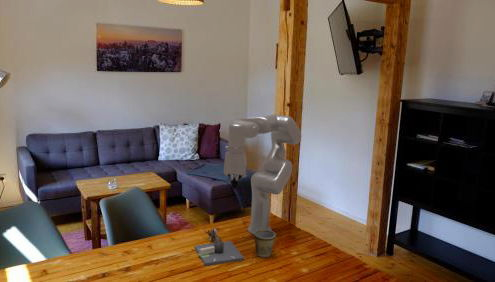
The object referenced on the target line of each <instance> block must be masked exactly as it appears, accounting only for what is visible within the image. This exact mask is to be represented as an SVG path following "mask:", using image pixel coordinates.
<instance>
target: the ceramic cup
mask: <svg viewBox="0 0 495 282" xmlns="http://www.w3.org/2000/svg"><path fill="white" fill-rule="evenodd" d="M276 236H277V235H276V232H275V231H273V230H271V231H270V230H264V229H262V230H257V231H255V232H254V234H253V239H254V247H255V253H256V254H257V255H258V257H262V258H268V257H270V255H271V254H272V251H273V246H274V243H275V239H276Z"/></svg>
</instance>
